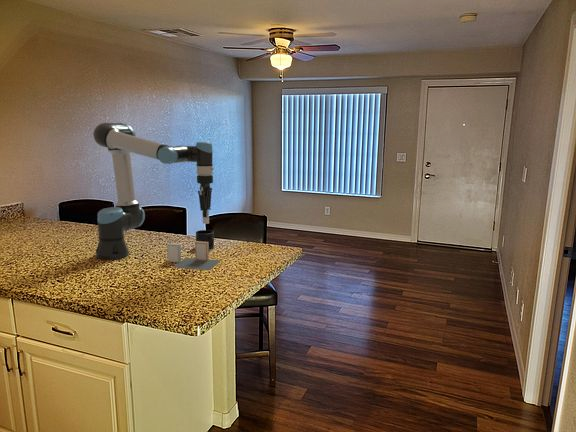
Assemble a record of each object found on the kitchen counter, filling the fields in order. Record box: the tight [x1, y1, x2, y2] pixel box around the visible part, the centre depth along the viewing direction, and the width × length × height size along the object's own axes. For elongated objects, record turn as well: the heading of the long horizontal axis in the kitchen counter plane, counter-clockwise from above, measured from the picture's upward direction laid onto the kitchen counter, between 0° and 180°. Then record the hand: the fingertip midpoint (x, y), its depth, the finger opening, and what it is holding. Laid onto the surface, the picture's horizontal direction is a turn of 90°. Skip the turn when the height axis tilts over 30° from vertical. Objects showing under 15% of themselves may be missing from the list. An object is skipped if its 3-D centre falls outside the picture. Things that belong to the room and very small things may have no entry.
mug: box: [195, 229, 215, 250], centre depth 238 cm, size 9×12×9 cm
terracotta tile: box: [194, 240, 210, 261], centre depth 216 cm, size 6×2×9 cm, turn 80°
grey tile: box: [166, 242, 182, 263], centre depth 213 cm, size 6×2×9 cm, turn 80°
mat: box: [172, 257, 222, 271], centre depth 211 cm, size 18×16×1 cm
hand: (205, 223), depth 218 cm, fingers closed
